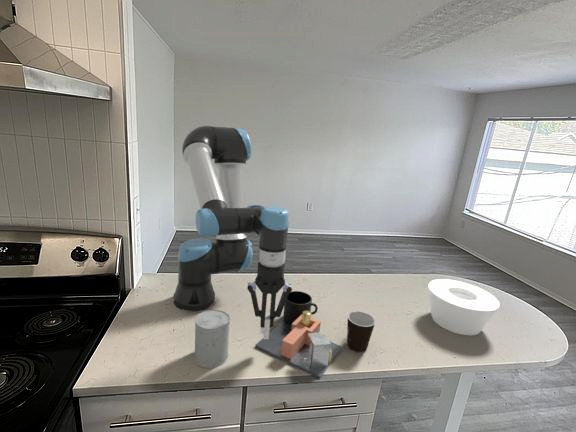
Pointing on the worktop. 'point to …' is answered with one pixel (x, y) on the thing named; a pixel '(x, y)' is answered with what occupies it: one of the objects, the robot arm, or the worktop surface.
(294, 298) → the mug
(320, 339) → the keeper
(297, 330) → the link
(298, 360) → the dark grey rectangular mat
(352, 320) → the coffee mug
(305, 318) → the post
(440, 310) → the bowl
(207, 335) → the white marble cylinder
